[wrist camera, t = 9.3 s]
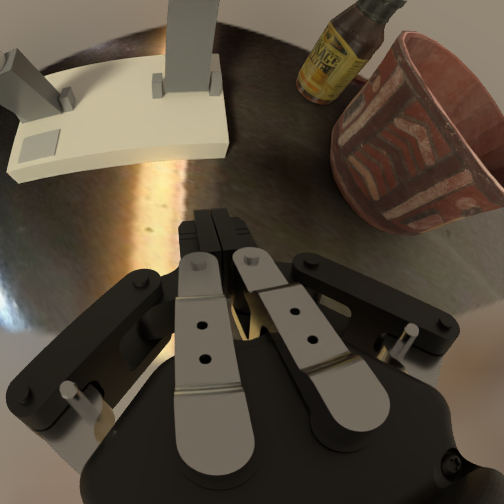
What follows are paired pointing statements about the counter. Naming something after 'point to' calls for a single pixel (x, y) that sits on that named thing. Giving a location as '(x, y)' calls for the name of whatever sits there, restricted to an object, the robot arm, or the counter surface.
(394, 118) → the pottery
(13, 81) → the grey marked lever
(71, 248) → the counter surface
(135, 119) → the switch unit
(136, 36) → the counter surface
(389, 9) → the sauce bottle
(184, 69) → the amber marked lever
